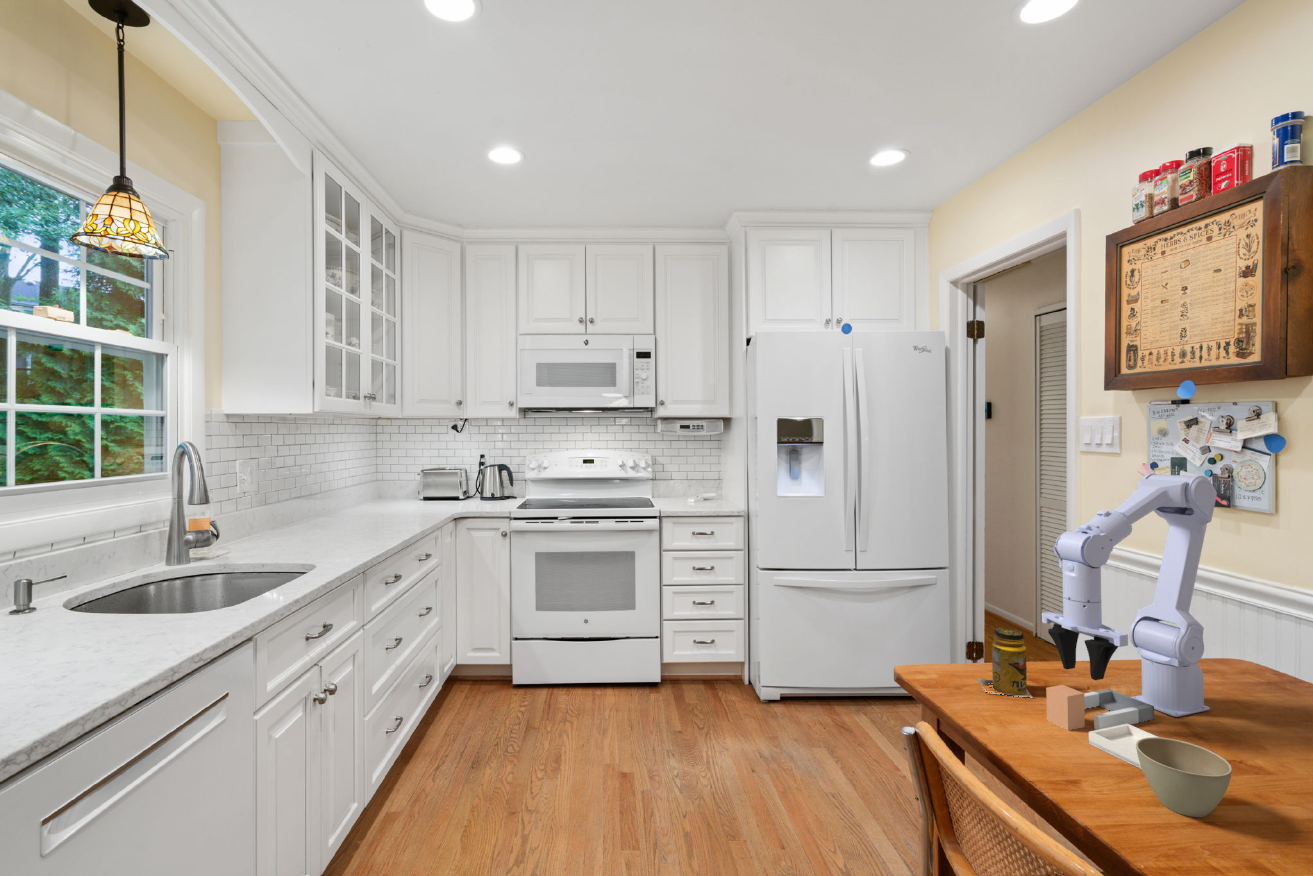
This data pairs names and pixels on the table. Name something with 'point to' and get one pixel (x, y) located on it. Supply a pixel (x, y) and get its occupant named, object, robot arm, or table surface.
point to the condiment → (1008, 663)
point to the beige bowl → (1184, 775)
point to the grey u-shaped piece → (1125, 704)
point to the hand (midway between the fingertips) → (1083, 673)
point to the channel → (1110, 713)
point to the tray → (1119, 741)
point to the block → (1065, 707)
